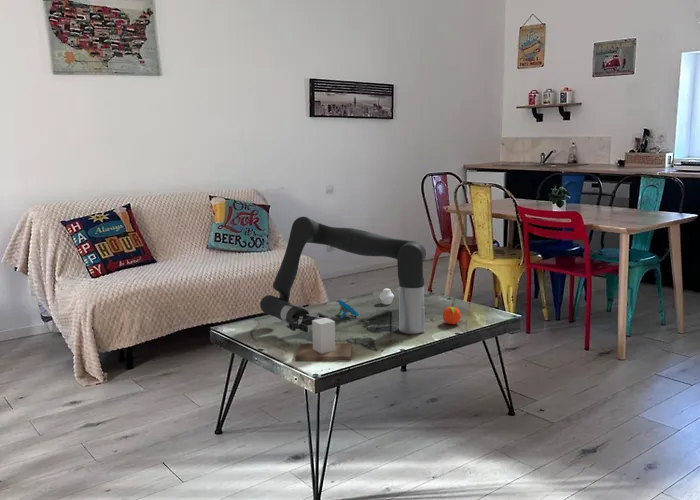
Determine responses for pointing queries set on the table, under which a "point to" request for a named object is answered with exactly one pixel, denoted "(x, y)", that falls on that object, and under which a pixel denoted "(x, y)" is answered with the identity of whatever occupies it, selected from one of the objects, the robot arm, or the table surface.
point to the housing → (323, 335)
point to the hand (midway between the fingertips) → (318, 327)
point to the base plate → (309, 354)
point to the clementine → (451, 315)
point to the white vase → (386, 296)
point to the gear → (346, 309)
